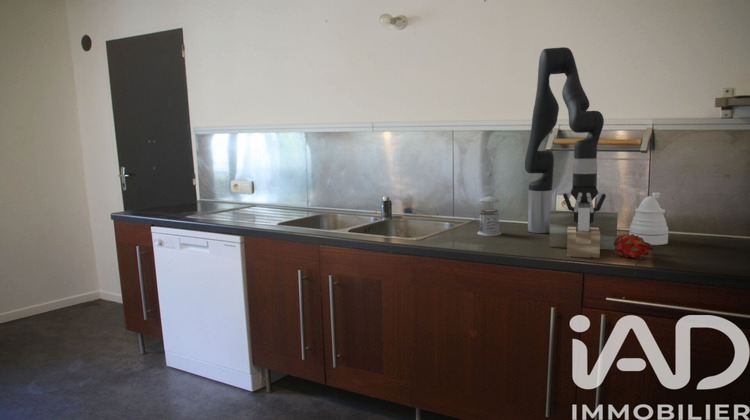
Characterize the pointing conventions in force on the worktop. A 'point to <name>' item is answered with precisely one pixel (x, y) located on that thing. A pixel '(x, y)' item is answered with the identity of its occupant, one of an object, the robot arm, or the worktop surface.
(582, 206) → the brushed steel bar
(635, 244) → the dragon fruit
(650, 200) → the honey pot
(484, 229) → the french press
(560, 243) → the small shelf
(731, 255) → the worktop surface
